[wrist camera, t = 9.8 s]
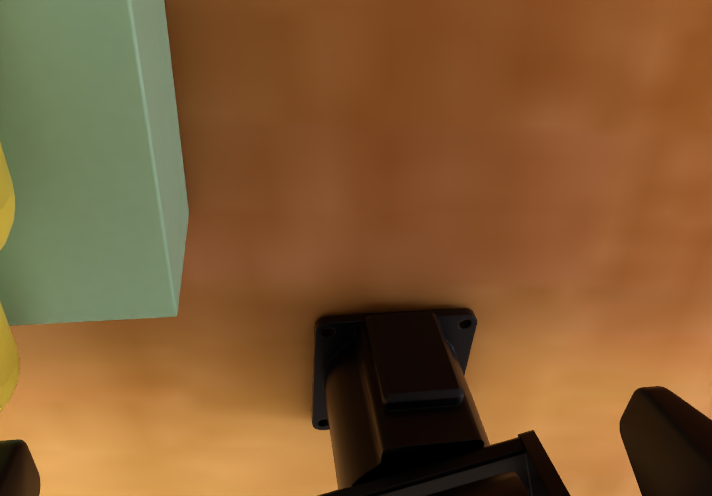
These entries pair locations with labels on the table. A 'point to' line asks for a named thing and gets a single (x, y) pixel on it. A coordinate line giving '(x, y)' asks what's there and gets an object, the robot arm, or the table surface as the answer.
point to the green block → (90, 162)
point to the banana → (3, 355)
